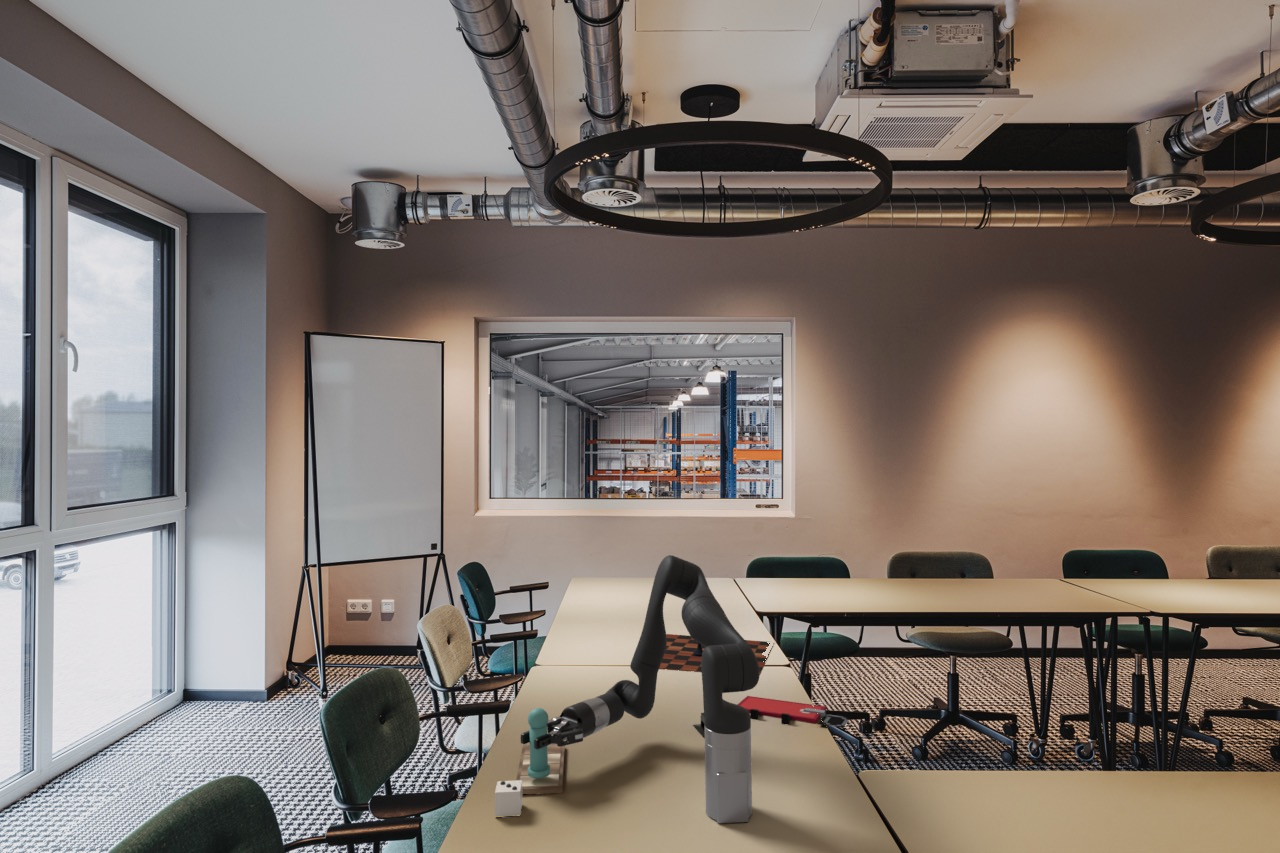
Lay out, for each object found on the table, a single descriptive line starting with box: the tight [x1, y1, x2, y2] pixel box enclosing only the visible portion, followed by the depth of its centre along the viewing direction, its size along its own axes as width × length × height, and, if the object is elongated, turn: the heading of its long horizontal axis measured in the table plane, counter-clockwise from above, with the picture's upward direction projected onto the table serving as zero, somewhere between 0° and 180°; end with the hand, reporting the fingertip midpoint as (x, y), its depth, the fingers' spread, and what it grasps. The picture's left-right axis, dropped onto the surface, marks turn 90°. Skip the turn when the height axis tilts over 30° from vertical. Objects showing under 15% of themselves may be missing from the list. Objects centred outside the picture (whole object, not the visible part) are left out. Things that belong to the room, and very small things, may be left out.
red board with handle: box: [736, 695, 851, 729], centre depth 208 cm, size 30×3×15 cm
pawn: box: [527, 707, 550, 778], centre depth 168 cm, size 5×5×14 cm
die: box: [494, 780, 523, 817], centre depth 157 cm, size 5×5×6 cm
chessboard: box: [659, 633, 770, 675], centre depth 266 cm, size 40×40×11 cm
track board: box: [515, 744, 566, 795], centre depth 176 cm, size 24×10×1 cm, turn 4°
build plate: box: [692, 712, 705, 740], centre depth 198 cm, size 12×7×5 cm, turn 14°
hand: (528, 741), depth 166 cm, fingers closed on pawn, 3 cm apart
